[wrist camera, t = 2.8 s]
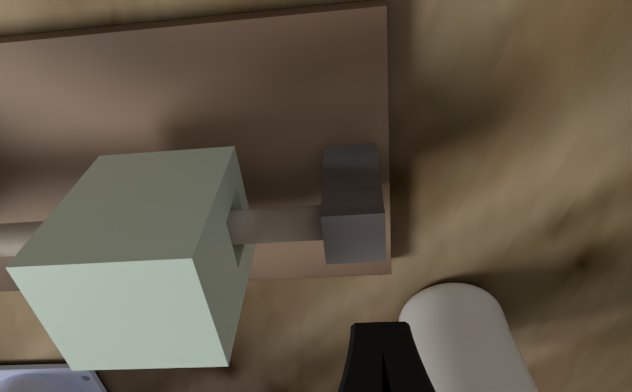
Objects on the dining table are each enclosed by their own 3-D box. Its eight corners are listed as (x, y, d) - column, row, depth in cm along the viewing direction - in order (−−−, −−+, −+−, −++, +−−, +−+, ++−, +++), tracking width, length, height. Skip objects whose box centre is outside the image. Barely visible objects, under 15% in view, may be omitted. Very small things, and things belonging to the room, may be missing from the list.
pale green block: (256, 241, 19) (228, 366, 14) (137, 248, 19) (72, 370, 15) (234, 146, 16) (191, 258, 12) (99, 155, 17) (5, 267, 12)
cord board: (389, 259, 23) (403, 374, 18) (-132, 284, 25) (-253, 389, 20) (384, -2, 16) (405, 60, 11) (-326, 68, 19) (-581, 145, 13)
